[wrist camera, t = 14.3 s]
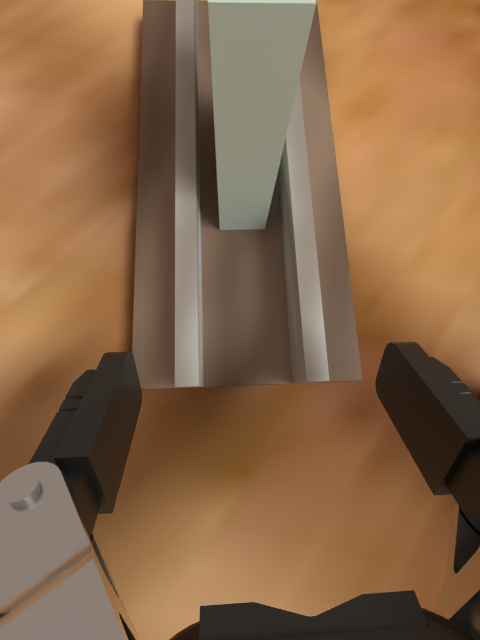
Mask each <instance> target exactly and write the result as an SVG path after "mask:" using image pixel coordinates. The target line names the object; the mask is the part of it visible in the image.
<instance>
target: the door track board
mask: <svg viewBox="0 0 480 640" xmlns="http://www.w3.org/2000/svg"><path fill="white" fill-rule="evenodd" d="M132 354H133V356H134V360H135V364H136V368H137V372H138V377H139V381H140V385H141V390H147V389H171V388H196V387H220V386H244V385H268V384H293V383H317V382H341V381H360V380H362V372H361V364H360V356H359V347H358V339H357V331H356V323H355V314H354V306H353V298H352V289H351V281H350V273H349V265H348V256H347V248H346V240H345V231H344V223H343V215H342V206H341V198H340V190H339V182H338V173H337V165H336V157H335V148H334V140H333V132H332V124H331V115H330V107H329V99H328V90H327V82H326V74H325V66H324V57H323V49H322V41H321V32H320V24H319V16H318V8H317V2H316V7H315V12H314V16H313V20H312V25H311V29H310V33H309V38H308V42H307V47H306V51H305V55H304V60H303V64H302V68H301V73H300V77H299V82H298V86H297V90H296V95H295V99H294V104H293V108H292V112H291V117H290V121H289V125H288V130H287V134H286V139H285V143H284V147H283V152H282V156H281V160H280V165H279V169H278V174H277V178H276V182H275V187H274V191H273V196H272V200H271V204H270V209H269V213H268V217H267V222H266V226H265V229H245V230H220V225H219V206H218V187H217V167H216V148H215V129H214V110H213V91H212V72H211V52H210V33H209V14H208V1H198V0H176V1H166V0H143V23H142V55H141V87H140V119H139V150H138V182H137V214H136V245H135V277H134V309H133V341H132Z"/></svg>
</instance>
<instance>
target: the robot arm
mask: <svg viewBox="0 0 480 640" xmlns="http://www.w3.org/2000/svg"><path fill="white" fill-rule="evenodd" d="M376 391H377V395H378V397H379V399H380V401H381V403H382V404H383V406H384V408H385V410H386V412H387V413H388V415H389V417H390V419H391V420H392V422H393V424H394V426H395V427H396V429H397V431H398V433H399V434H400V436H401V438H402V440H403V441H404V443H405V445H406V447H407V449H408V450H409V452H410V454H411V456H412V457H413V459H414V461H415V463H416V464H417V466H418V468H419V470H420V471H421V473H422V475H423V477H424V478H425V480H426V482H427V484H428V486H429V487H430V489H431V491H432V493H433V494H434V495H445V494H452V495H453V497H454V499H455V500H456V504H455V506H454V508H453V513H452V522H451V531H450V540H449V550H448V559H447V568H446V576H445V581H444V584H443V587H442V590H441V592H440V594H439V597H438V600H437V604H436V608H435V613H434V612H431V611H429V610H426V609H423V608H421V607H420V604H419V602H418V599H417V597H416V594H415V592H414V591H400V592H387V593H373V594H362V595H360V596H358V597H356V598H353V599H351V600H349V601H347V602H345V603H343V604H341V605H338V606H336V607H334V608H332V609H330V610H328V611H326V612H323V613H321V614H319V615H317V616H312V617H309V616H304V615H300V614H296V613H293V612H289V611H285V610H281V609H277V608H274V607H270V606H266V605H262V604H259V603H255V602H250V603H237V604H223V605H209V606H200V621H199V622H197V623H194V624H192V625H190V626H188V627H187V628H185V629H183V630H182V631H180V632H179V633H177V634H176V635H174V636H173V637H172V638H171V639H170V640H480V401H479V399H478V398H477V397H476V396H475V395H474V394H471V391H470V390H469V389H468V387H467V386H466V385H465V384H464V383H461V380H460V379H459V378H458V377H457V375H456V374H455V373H454V372H453V371H452V370H451V369H450V368H449V367H447V366H446V365H444V364H443V363H441V362H440V361H438V360H437V359H435V358H434V357H429V356H428V355H427V354H426V353H425V351H424V350H423V349H422V348H421V347H420V346H419V345H418V344H417V343H416V342H393V343H388V344H387V346H386V348H385V351H384V354H383V357H382V360H381V364H380V367H379V370H378V374H377V377H376ZM141 402H142V390H141V385H140V381H139V377H138V372H137V368H136V364H135V360H134V356H133V354H132V352H109V353H105V354H104V355H103V357H102V359H101V361H100V363H99V365H98V367H97V369H96V370H87V371H86V372H85V373H83V374H82V375H81V376H80V377H79V378H78V379H77V380H76V381H75V382H74V383H73V384H72V386H71V388H70V390H69V392H68V393H67V395H66V399H65V400H64V401H63V403H62V404H61V406H60V408H59V412H57V414H56V415H55V417H54V419H53V421H52V423H51V425H50V426H49V428H48V430H47V432H46V434H45V436H44V437H43V439H42V441H41V443H40V445H39V447H38V448H37V450H36V452H35V454H34V456H33V458H32V459H31V461H30V463H29V464H28V465H25V466H23V467H21V468H18V469H17V470H15V471H13V472H12V473H10V474H9V475H8V476H6V477H5V478H4V479H3V480H2V481H1V482H0V640H139V638H138V636H137V633H136V631H135V629H134V626H133V624H132V622H131V620H130V618H129V616H128V614H127V611H126V609H125V607H124V605H123V603H122V600H121V598H120V596H119V593H118V591H117V589H116V586H115V584H114V581H113V579H112V577H111V574H110V572H109V570H108V567H107V565H106V562H105V560H104V558H103V555H102V553H101V550H100V548H99V546H98V543H97V541H96V539H95V536H94V534H93V532H92V531H93V528H94V524H95V521H96V518H97V515H98V514H102V513H112V512H113V509H114V505H115V501H116V497H117V494H118V490H119V486H120V483H121V479H122V475H123V471H124V468H125V464H126V460H127V457H128V453H129V449H130V445H131V442H132V438H133V434H134V431H135V427H136V423H137V419H138V416H139V412H140V408H141Z"/></svg>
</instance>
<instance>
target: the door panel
mask: <svg viewBox="0 0 480 640" xmlns="http://www.w3.org/2000/svg"><path fill="white" fill-rule="evenodd" d="M315 7H316V0H208V14H209V33H210V52H211V72H212V91H213V110H214V129H215V148H216V167H217V187H218V206H219V225H220V230H245V229H265V226H266V222H267V217H268V213H269V209H270V204H271V200H272V196H273V191H274V187H275V182H276V178H277V174H278V169H279V165H280V160H281V156H282V152H283V147H284V143H285V139H286V134H287V130H288V125H289V121H290V117H291V112H292V108H293V104H294V99H295V95H296V90H297V86H298V82H299V77H300V73H301V68H302V64H303V60H304V55H305V51H306V47H307V42H308V38H309V33H310V29H311V25H312V20H313V16H314V12H315Z"/></svg>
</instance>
